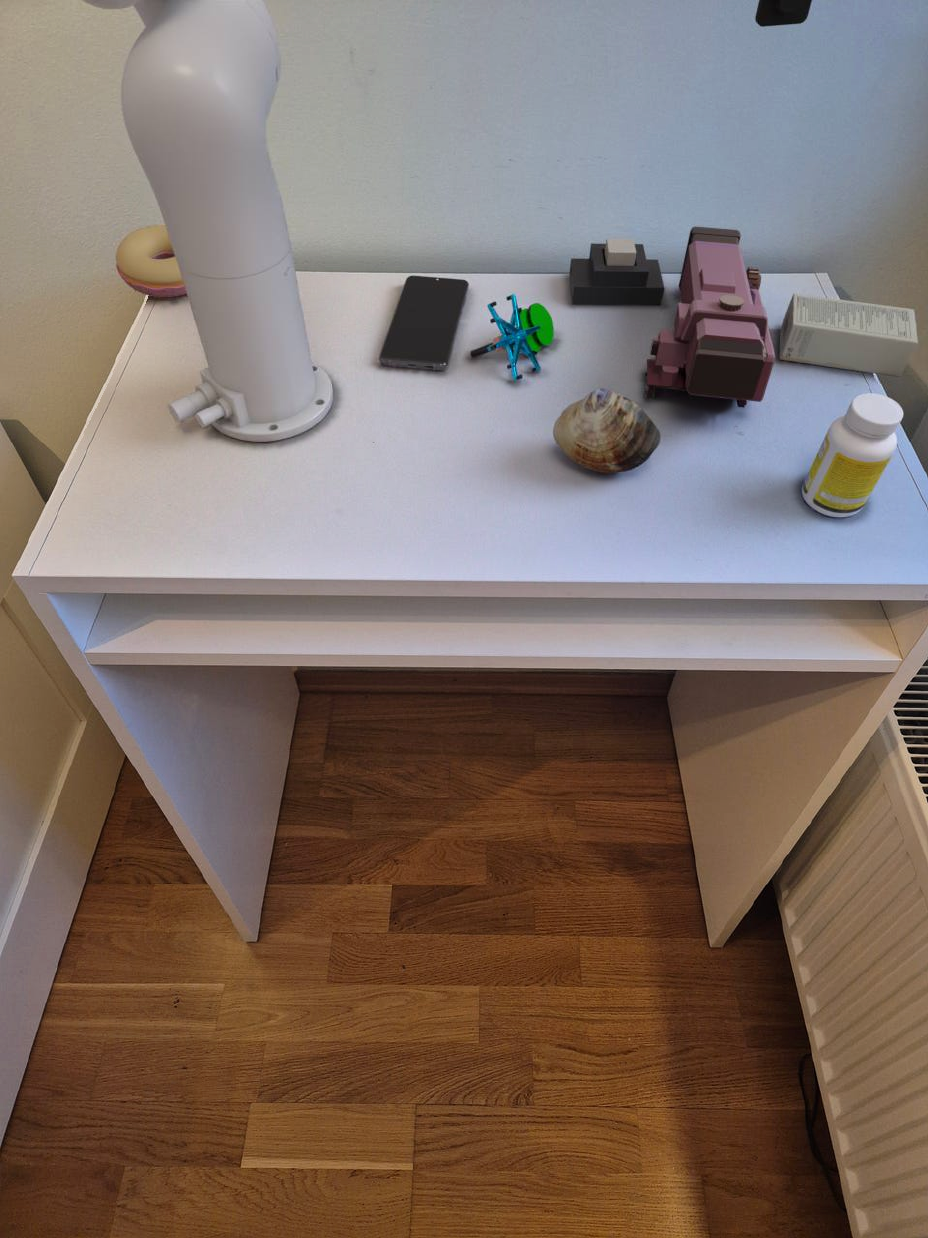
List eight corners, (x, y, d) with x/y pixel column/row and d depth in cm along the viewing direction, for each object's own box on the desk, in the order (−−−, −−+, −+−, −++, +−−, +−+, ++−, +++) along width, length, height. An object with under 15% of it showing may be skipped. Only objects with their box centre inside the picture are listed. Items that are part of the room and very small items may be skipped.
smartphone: (377, 359, 81) (407, 273, 91) (378, 367, 82) (407, 282, 92) (447, 365, 81) (470, 278, 90) (447, 374, 82) (470, 287, 91)
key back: (631, 253, 89) (633, 238, 88) (633, 267, 87) (636, 252, 86) (604, 253, 89) (606, 238, 88) (606, 267, 87) (608, 252, 86)
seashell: (541, 473, 73) (549, 401, 66) (559, 434, 76) (567, 363, 69) (643, 498, 71) (661, 427, 64) (657, 458, 74) (675, 386, 67)
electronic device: (739, 315, 92) (764, 224, 85) (763, 441, 73) (798, 337, 66) (644, 306, 93) (661, 215, 86) (643, 428, 74) (665, 324, 67)
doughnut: (94, 233, 89) (106, 268, 93) (135, 283, 84) (145, 317, 88) (185, 207, 93) (193, 241, 97) (228, 253, 89) (235, 287, 92)
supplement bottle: (875, 512, 70) (927, 423, 62) (821, 525, 69) (867, 436, 61) (841, 471, 73) (886, 382, 65) (788, 483, 72) (828, 393, 64)
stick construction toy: (522, 381, 77) (493, 301, 75) (466, 401, 81) (437, 326, 79) (573, 351, 86) (548, 279, 83) (520, 371, 90) (495, 302, 88)
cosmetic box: (777, 360, 83) (898, 381, 81) (792, 322, 79) (919, 343, 78) (780, 326, 87) (896, 345, 85) (794, 288, 83) (915, 308, 81)
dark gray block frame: (654, 277, 93) (661, 243, 90) (660, 305, 89) (668, 271, 86) (569, 276, 93) (572, 242, 90) (571, 304, 89) (575, 270, 86)
